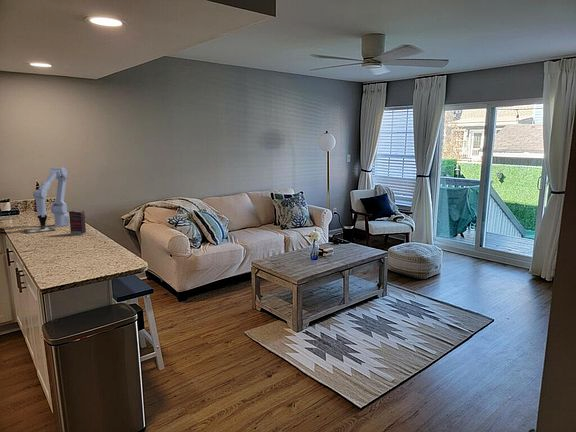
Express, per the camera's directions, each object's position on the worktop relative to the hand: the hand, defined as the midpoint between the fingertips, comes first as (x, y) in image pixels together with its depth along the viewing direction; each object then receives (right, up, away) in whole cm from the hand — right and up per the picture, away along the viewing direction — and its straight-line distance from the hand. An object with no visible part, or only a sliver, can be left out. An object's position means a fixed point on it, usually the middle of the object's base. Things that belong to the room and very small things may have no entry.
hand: (42, 225), depth 285 cm
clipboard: (-1, -4, -2) cm, 4 cm away
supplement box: (+31, -6, -10) cm, 33 cm away
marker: (0, -2, 0) cm, 2 cm away
